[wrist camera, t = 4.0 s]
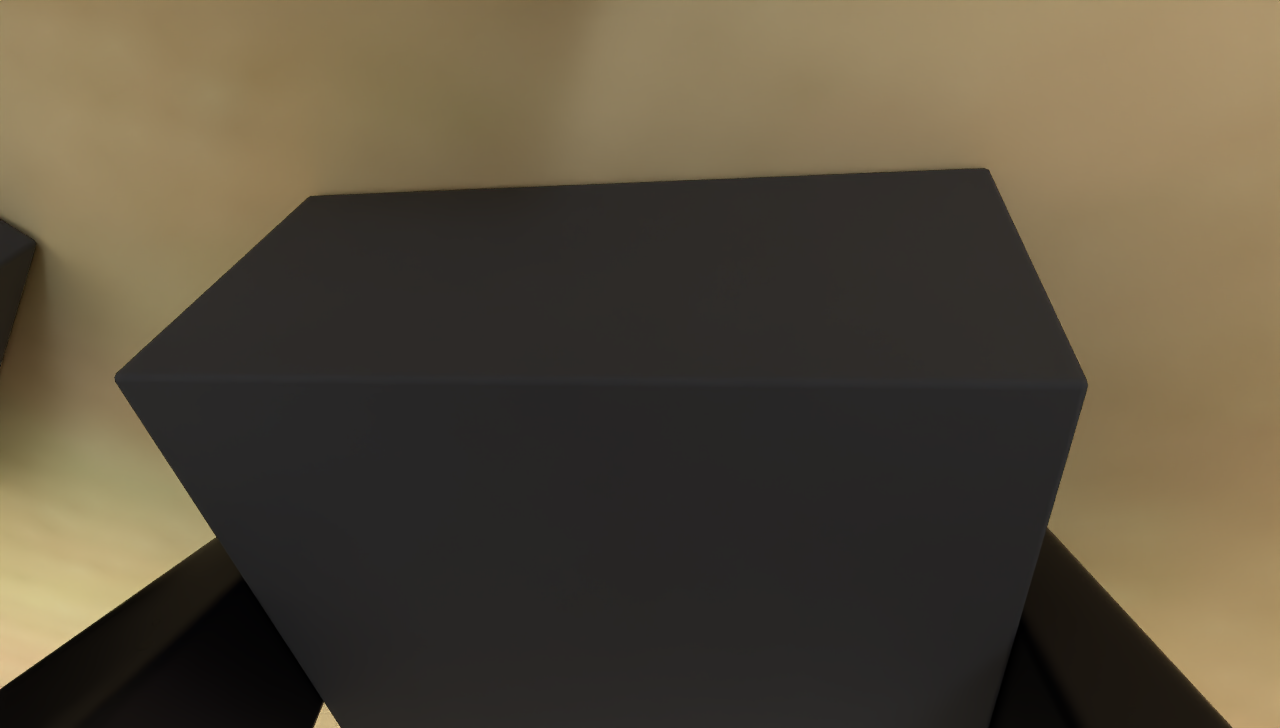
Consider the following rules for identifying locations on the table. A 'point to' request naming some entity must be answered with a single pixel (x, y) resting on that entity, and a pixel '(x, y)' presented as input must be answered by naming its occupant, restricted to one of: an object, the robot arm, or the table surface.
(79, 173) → the table surface
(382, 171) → the table surface
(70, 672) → the robot arm
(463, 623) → the charcoal square block
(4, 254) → the dark gray block
